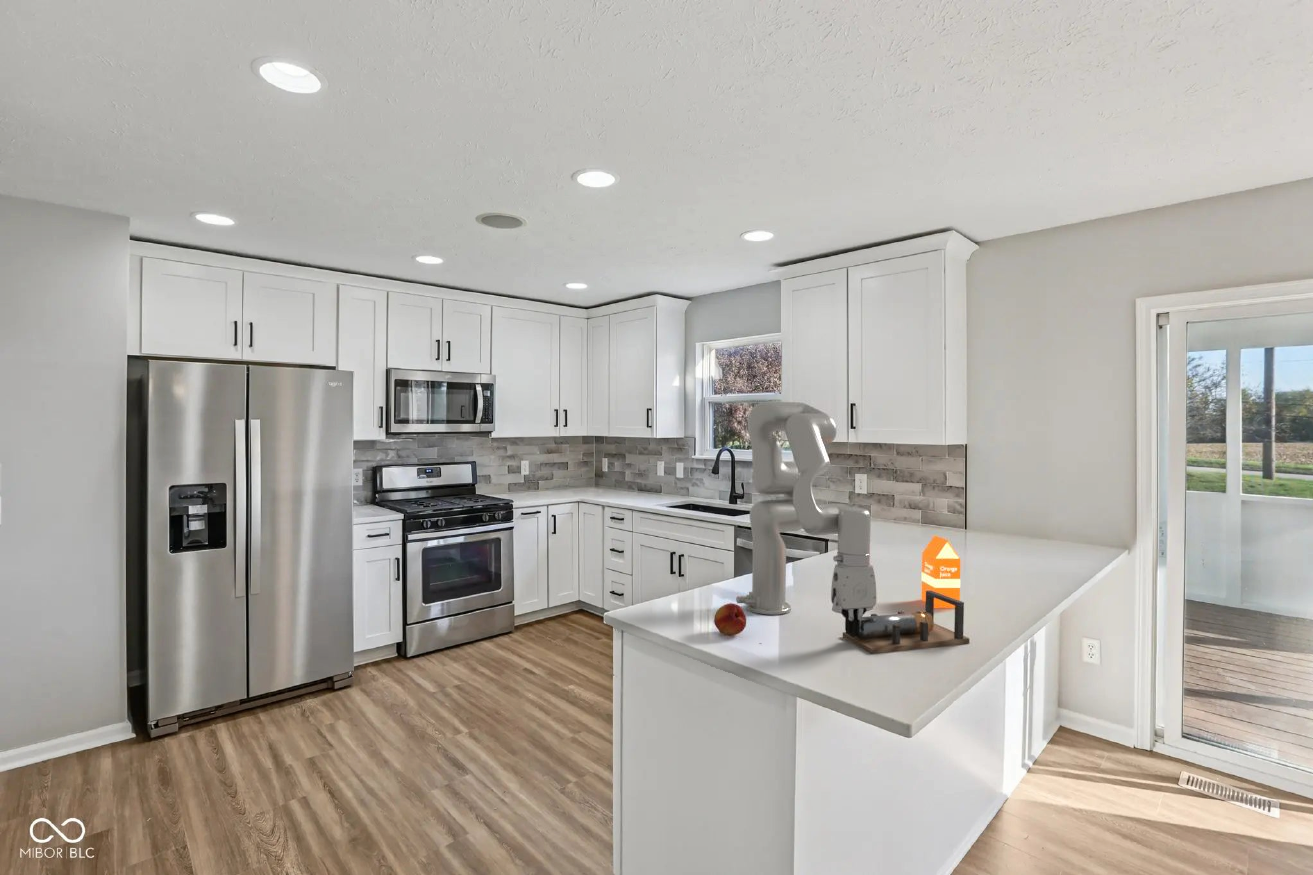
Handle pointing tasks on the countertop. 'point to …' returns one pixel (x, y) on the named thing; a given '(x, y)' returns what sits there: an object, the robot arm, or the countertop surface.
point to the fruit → (730, 619)
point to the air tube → (884, 623)
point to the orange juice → (940, 571)
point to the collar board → (918, 640)
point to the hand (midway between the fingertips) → (852, 634)
